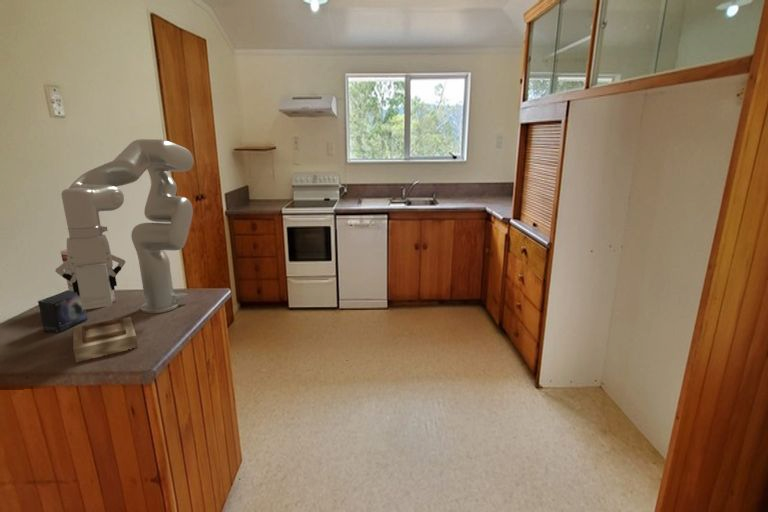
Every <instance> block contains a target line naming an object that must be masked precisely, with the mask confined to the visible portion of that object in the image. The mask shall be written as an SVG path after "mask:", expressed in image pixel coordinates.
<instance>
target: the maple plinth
mask: <svg viewBox="0 0 768 512" xmlns="http://www.w3.org/2000/svg"><path fill="white" fill-rule="evenodd" d="M72 341H73V346H72V347H73V354H74V358H75V359H74V360H75V363H79V361H80V362H84V361H87V360H92V359H96V358H101V357H104V356H103V355H105V356H109V355H112V354H116V353H120V352H125V351H129V350H128V349H130V350H133V349H132V348H134V349H136V348H135V347H138V348H139V345H138V339H137V334H136V331H135V327H134V323H133V321H132V317H131V316H128V317H120V318H115V319H111V320H109V319H108V320H105V321H99V322H96V323H95V322H94V323H90V324H84V325H81V326H77V327H73V340H72ZM108 354H109V355H108ZM91 358H92V359H91ZM83 360H84V361H83Z"/></svg>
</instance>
